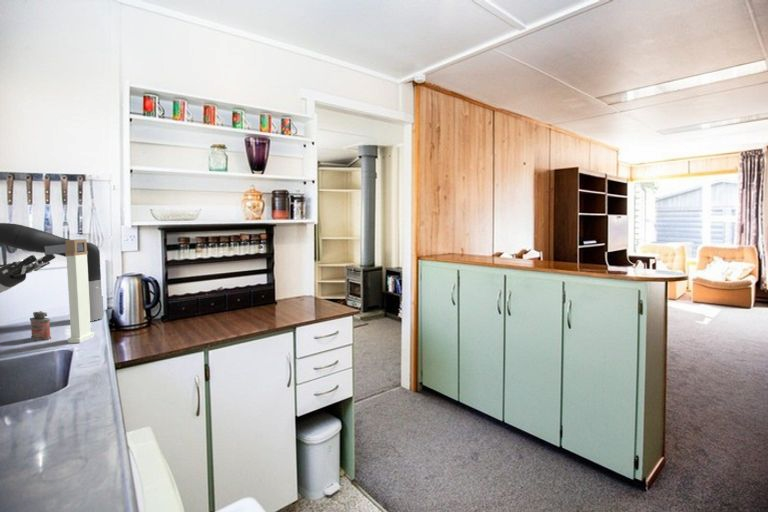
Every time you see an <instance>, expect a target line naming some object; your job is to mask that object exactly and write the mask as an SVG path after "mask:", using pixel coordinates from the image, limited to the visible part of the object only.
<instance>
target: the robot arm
mask: <svg viewBox="0 0 768 512" xmlns="http://www.w3.org/2000/svg"><path fill="white" fill-rule="evenodd" d="M65 240H71V239H70V238H66V237H61V236H58V235H55V234H53V233H50V232H47V231H45V230H42V229H38V228H34V227H31V226H26V225H22V224H19V223H18V224H17V223H10V222H9V223H7V222H0V245H3V246H8V247H10V248H13V249H18V250H23V251H27V252H34V253H39V254H40V253H41V254H45V255H44V256H42V257H41V258H40V257H39V258H38V259H37V258H36V256H35V255H33V254H31V255H29V256H27V257H26V258H24V259H20V260H18V261H13V262H11V263H6V264H5V265H3V266H1V267H0V294H1V293H3V292H5V291H8V290H10V289H12V288H13V287H15V286H17V285H19V284H21V283H23V282H24V281H25V280H26V278H27V274H31V273H32V272H33V271H34V272H37V271H38V270H40V269H43V268H45V267H46V266H48V265H50V264H51V261H53V260H54V259H56V255H58V256H62V257H65V258H67V256H65V253H59V254H50V255H46V252H45V247H44V246H53V245H62V244H66V242H65ZM86 242H87V251H88V254H87V264H88V283H89V302H90V321H91V322H95V321H94V320H97V321H99V320H98V319H101V318H103V319H104V317H105V315H104V296H103V292H102V273H101V257H100V256H101V253H100V249H99V247H98V246H97V245H96V244H94V243H92V242H89V241H86ZM103 316H104V317H103ZM101 320H102V319H101Z"/></svg>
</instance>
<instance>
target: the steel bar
mask: <svg viewBox="0 0 768 512" xmlns="http://www.w3.org/2000/svg"><path fill="white" fill-rule="evenodd" d="M44 247H45V252H46V253H45V256H46V255H50V254H54V255H57V254H59V253H66V244H62V245H53V246H44ZM77 251H84V249H83V243H77Z"/></svg>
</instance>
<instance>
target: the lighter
mask: <svg viewBox="0 0 768 512" xmlns="http://www.w3.org/2000/svg"><path fill="white" fill-rule="evenodd" d="M32 315H33V317H30V318H29V321H30V329H31V330H30V331H31V335H30V338H31V340H34V341H43V342H45V340H46V341H50V340H51V339H52V336H51V328H50V322H51V319H50V318H49V317H48V312H43V311H42V310H39V311H33V313H32ZM49 339H50V340H49Z"/></svg>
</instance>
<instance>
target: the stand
mask: <svg viewBox="0 0 768 512" xmlns="http://www.w3.org/2000/svg"><path fill="white" fill-rule="evenodd" d="M65 242H66V253H65V256H67V257H66V270H67V272H66V273H67V274H66V275H67V285H68V286H67V288H68V289H67V290H68V304H69V305H68V307H69V322H70V323H69V324H70V337H68V338H67V344H81V343H83V342H85V341H87V340H89V339H91V338H93V337H95V332H94V331H92V324H91V323H92V321H91V322H90V302H89V283H88V264H87V254H88V251H87V242H88V241H87V239H84V238H83V239H82V238H81V239H80V238H79V239H78V238H77V239H70V240H65ZM77 243H83V249H84V251H77ZM65 256H64V257H65Z"/></svg>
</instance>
